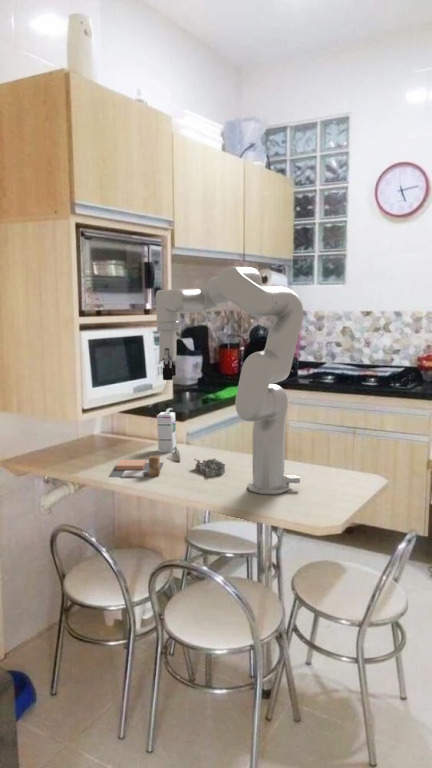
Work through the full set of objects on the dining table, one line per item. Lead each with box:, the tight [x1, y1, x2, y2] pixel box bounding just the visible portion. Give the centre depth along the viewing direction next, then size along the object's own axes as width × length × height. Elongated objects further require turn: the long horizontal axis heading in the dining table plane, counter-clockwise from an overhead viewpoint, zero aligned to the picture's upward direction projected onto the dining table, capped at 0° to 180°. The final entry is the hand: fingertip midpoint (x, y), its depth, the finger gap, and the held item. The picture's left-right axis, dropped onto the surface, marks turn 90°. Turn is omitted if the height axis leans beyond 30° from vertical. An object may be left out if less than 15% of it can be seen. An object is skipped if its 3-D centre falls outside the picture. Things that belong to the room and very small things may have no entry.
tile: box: [115, 459, 147, 470], centre depth 201 cm, size 2×7×9 cm
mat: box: [107, 462, 164, 478], centre depth 198 cm, size 16×16×1 cm
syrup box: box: [156, 411, 177, 453], centre depth 221 cm, size 6×6×14 cm
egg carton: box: [194, 458, 227, 477], centre depth 196 cm, size 11×8×4 cm
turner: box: [120, 455, 161, 479], centre depth 192 cm, size 12×6×6 cm, turn 87°
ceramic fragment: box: [165, 446, 181, 463], centre depth 212 cm, size 14×5×4 cm, turn 6°
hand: (169, 377), depth 200 cm, fingers open, 9 cm apart
